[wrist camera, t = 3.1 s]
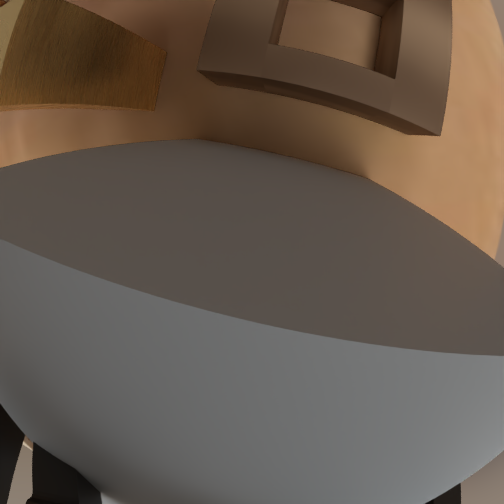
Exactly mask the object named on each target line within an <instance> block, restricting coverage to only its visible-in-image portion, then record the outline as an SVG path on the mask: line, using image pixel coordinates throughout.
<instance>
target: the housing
mask: <svg viewBox="0 0 504 504" xmlns="http://www.w3.org/2000/svg"><path fill="white" fill-rule="evenodd" d="M0 404H1V405H2V406H3V408H4V409H5V410H6V412H7V413H8V414H9V416H10V417H11V418H12V419H13V421H14V422H15V423H16V424H17V426H18V427H19V428H20V429H21V430H22V432H23V433H24V434H25V435H26V436H27V437H28V438H29V440H30V441H31V442H32V443H33V441H34V442H35V443H36V444H38V445H39V446H40V447H42V448H43V449H45V450H46V451H48V452H49V453H51V454H52V455H54V456H55V457H57V458H58V459H60V460H62V461H63V462H65V463H67V464H68V465H70V466H72V467H73V468H75V469H76V470H77V471H78V472H79V473H80V474H81V475H82V476H83V477H84V478H85V479H87V480H88V481H89V482H90V483H91V484H92V485H93V486H94V487H95V488H96V489H97V490H98V491H100V492H101V499H102V504H425V503H427V502H429V501H430V500H432V499H434V498H436V497H438V496H439V495H441V494H443V493H444V492H446V491H448V490H449V489H451V488H453V487H454V486H456V485H457V484H459V483H461V482H462V481H464V480H465V479H466V478H468V477H469V476H471V475H472V474H474V473H475V472H477V471H478V470H479V469H481V468H482V467H483V466H485V465H486V464H487V463H488V462H490V461H491V460H492V459H494V458H495V457H496V456H497V455H498V454H500V453H501V452H502V451H503V450H504V268H503V267H502V266H501V265H500V264H498V263H497V262H496V261H495V260H493V259H492V258H491V257H490V256H488V255H487V254H486V253H485V252H483V251H482V250H481V249H479V248H478V247H477V246H475V245H474V244H473V243H471V242H470V241H468V240H467V239H466V238H464V237H463V236H461V235H460V234H459V233H457V232H456V231H454V230H453V229H451V228H450V227H448V226H447V225H446V224H444V223H443V222H441V221H439V220H438V219H436V218H435V217H433V216H432V215H430V214H429V213H427V212H425V211H424V210H422V209H421V208H419V207H417V206H416V205H414V204H412V203H411V202H409V201H407V200H406V199H404V198H402V197H401V196H399V195H397V194H395V193H394V192H392V191H390V190H388V189H386V188H385V187H383V186H381V185H379V184H377V183H375V182H374V181H372V180H370V179H367V178H364V177H361V176H358V175H355V174H351V173H348V172H345V171H341V170H338V169H334V168H331V167H327V166H324V165H320V164H316V163H313V162H309V161H305V160H301V159H297V158H293V157H289V156H285V155H280V154H276V153H271V152H267V151H262V150H257V149H252V148H247V147H242V146H237V145H232V144H226V143H220V142H214V141H208V140H201V139H181V140H163V141H150V142H138V143H128V144H119V145H111V146H104V147H97V148H90V149H84V150H78V151H72V152H66V153H61V154H56V155H51V156H46V157H42V158H37V159H33V160H29V161H25V162H21V163H17V164H13V165H10V166H6V167H3V168H0Z"/></svg>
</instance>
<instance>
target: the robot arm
mask: <svg viewBox="0 0 504 504" xmlns="http://www.w3.org/2000/svg"><path fill="white" fill-rule="evenodd" d="M24 438H25V434H24V433H23V432H22V430H21V429H20V428H19V427H18V426H17V424H16V423H15V422H14V421H13V419H12V418H11V417H10V416H9V414H8V413H7V412H6V410H5V409H4V408H3V406H2V405H1V404H0V504H7V500H8V496H9V491H10V487H11V482H12V478H13V474H14V471H15V467H16V463H17V460H18V456H19V453H20V450H21V447H22V444H23V441H24ZM32 482H33V494H32V497H30V498H29V499H28V500H27V502H26V504H102V499H101V492H100V491H98V490H97V489H96V488H95V487H94V486H93V485H92V484H91V483H90V482H89V481H88V480H87V479H85V478H84V477H83V476H82V475H81V474H80V473H79V472H78V471H77V470H76V469H75V468H73V467H72V466H70V465H68V464H67V463H65V462H63V461H62V460H60V459H58V458H57V457H55V456H54V455H52V454H51V453H49V452H48V451H46V450H45V449H43V448H42V447H40V446H39V445H38V444H36V443H35V442H34V441H33V458H32ZM425 504H461V485H460V483H459V484H457V485H456V486H454V487H453V488H451V489H449V490H448V491H446V492H444V493H443V494H441V495H439V496H438V497H436V498H434V499H432V500H430V501H429V502H427V503H425Z"/></svg>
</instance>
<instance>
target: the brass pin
mask: <svg viewBox="0 0 504 504" xmlns="http://www.w3.org/2000/svg"><path fill="white" fill-rule="evenodd" d="M166 55H167V52H166V51H164V50H162V49H161V48H159V47H157V46H156V45H154V44H152V43H150V42H149V41H147V40H145V39H143V38H142V37H140V36H138V35H136V34H134V33H133V32H131V31H129V30H127V29H125V28H123V27H121V26H119V25H117V24H115V23H113V22H111V21H109V20H107V19H105V18H103V17H101V16H99V15H97V14H95V13H92V12H90V11H88V10H86V9H83V8H81V7H79V6H76V5H74V4H71V3H69V2H66V1H64V0H11V1H9V2H8V3H6V4H5V5H3V6H2V7H0V112H2V111H12V110H26V109H53V108H76V109H103V110H142V111H154V110H155V104H156V99H157V94H158V89H159V85H160V80H161V75H162V71H163V67H164V63H165V59H166Z"/></svg>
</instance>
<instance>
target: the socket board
mask: <svg viewBox="0 0 504 504" xmlns="http://www.w3.org/2000/svg"><path fill="white" fill-rule="evenodd" d="M331 1H335V2H339V3H342V4H346V5H349V6H352V7H356V8H359V9H362V10H365V11H368V12H370V13H373V14H376V15H378V16H381V17H382V23H381V31H380V38H379V45H378V51H377V58H376V64H375V70H374V71H372V70H369V69H367V68H364V67H361V66H358V65H355V64H352V63H349V62H346V61H342V60H339V59H336V58H332V57H328V56H325V55H321V54H317V53H313V52H309V51H304V50H300V49H295V48H290V47H285V46H280V45H278V41H279V37H280V33H281V29H282V25H283V20H284V16H285V12H286V8H287V4H288V0H216V1H215V4H214V7H213V11H212V14H211V17H210V21H209V24H208V27H207V31H206V35H205V38H204V42H203V46H202V49H201V53H200V57H199V61H198V65H197V71H199V72H200V73H202V74H203V75H205V76H206V77H207V78H209V79H210V80H211V81H213V82H214V83H216V84H217V85H222V86H230V87H237V88H244V89H250V90H256V91H262V92H267V93H272V94H277V95H282V96H287V97H291V98H296V99H300V100H304V101H308V102H312V103H316V104H320V105H323V106H327V107H330V108H334V109H337V110H341V111H344V112H347V113H350V114H353V115H356V116H359V117H362V118H365V119H368V120H371V121H374V122H377V123H379V124H382V125H385V126H387V127H390V128H392V129H395V130H397V131H400V132H402V133H405V134H407V135H428V136H441V131H442V125H443V120H444V114H445V108H446V102H447V95H448V87H449V78H450V67H451V53H452V0H331Z"/></svg>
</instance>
